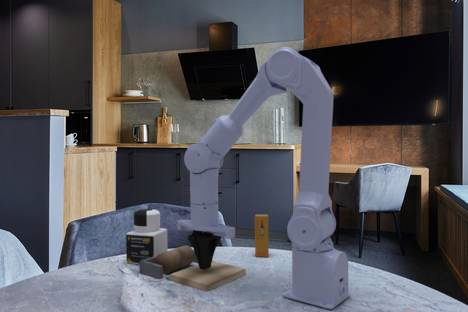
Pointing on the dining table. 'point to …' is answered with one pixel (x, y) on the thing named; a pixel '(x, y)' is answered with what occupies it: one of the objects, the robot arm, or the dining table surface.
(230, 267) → the tan flat square slab
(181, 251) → the roller
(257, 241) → the supplement box
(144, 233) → the medicine bottle
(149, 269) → the gray u-shaped frame
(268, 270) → the dining table surface
